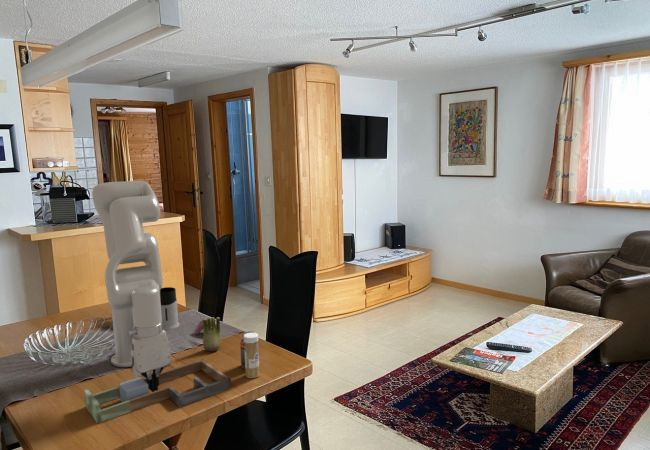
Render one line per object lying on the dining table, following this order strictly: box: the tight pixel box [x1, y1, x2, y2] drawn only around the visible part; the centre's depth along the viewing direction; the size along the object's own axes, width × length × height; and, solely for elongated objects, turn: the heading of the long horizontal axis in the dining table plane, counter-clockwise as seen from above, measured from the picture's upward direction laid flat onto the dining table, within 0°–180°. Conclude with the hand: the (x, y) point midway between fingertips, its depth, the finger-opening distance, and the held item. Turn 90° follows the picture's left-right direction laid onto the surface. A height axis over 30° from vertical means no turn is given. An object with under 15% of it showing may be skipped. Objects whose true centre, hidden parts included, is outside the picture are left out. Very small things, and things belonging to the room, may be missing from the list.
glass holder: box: [160, 286, 180, 331], centre depth 192 cm, size 9×14×15 cm, turn 168°
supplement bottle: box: [239, 330, 260, 370], centre depth 158 cm, size 6×6×11 cm
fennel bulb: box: [202, 316, 222, 352], centre depth 171 cm, size 6×5×12 cm
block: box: [118, 376, 150, 403], centre depth 138 cm, size 6×6×5 cm
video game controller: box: [193, 318, 222, 335], centre depth 186 cm, size 10×5×7 cm, turn 59°
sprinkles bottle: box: [242, 332, 261, 379], centre depth 151 cm, size 5×5×14 cm
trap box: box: [83, 359, 232, 424], centre depth 140 cm, size 18×36×5 cm, turn 131°
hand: (153, 389), depth 142 cm, fingers closed
